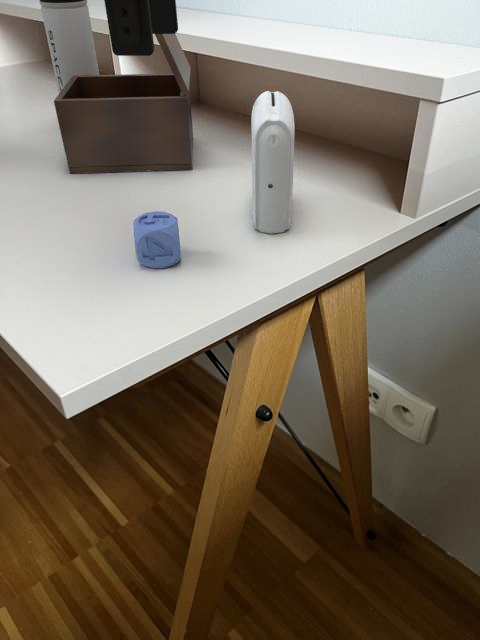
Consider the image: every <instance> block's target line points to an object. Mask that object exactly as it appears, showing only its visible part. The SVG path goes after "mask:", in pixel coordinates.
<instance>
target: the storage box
mask: <svg viewBox="0 0 480 640" xmlns="http://www.w3.org/2000/svg"><path fill="white" fill-rule="evenodd" d="M53 104H54V108H55V113H56V118H57V123H58V127H59V131H60V136H61V141H62V145H63V151H64V154H65V159H66V163H67V167H68V172H69V174H70V175H74V174H75V175H76V174H100V173H101V174H103V173H105V174H107V173H108V172H109V173H128V172H127V171H140V172H148V171H147V170H172V171H192V170H193V164H194V163H193V161H194V159H193V158H194V128H193V115H192V102H191V89H190V86H189V93H186V94H184V95H183V93H182V91H181V89H180V87H179V85H178V83H177V81H176V79H175V76H174V74H173V73H133V74H132V73H131V74H130V73H129V74H99V75H77V76H72V77H71V79H70V80H69V81H68V83H67V84H66V85H65V87H64V88H63V89H62V91H61V92H60V93H59V92H58V95H57V96H56V97H55V98H54V100H53ZM125 171H126V172H125Z"/></svg>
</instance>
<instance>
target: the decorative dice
mask: <svg viewBox="0 0 480 640" xmlns="http://www.w3.org/2000/svg"><path fill="white" fill-rule="evenodd" d="M132 223H133V239H134V240H133V243H134V248H135V254H136V259H137V262H138V263H140V264H141V265H142V266H144V267H147V268H150V269H165V268H170V267H172V266H174V265H175V264H177V263H178V262H179V261H180V260H181V259H182V255H181V254H182V252H181V243H180V242H181V240H180V229H179V222H178V217H176V216H175V215H174V214H172V213H171V212H166V211H149V212H145V213H142V214H140V215H138V216H137V217H135V219H134V220H133V222H132Z"/></svg>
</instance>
